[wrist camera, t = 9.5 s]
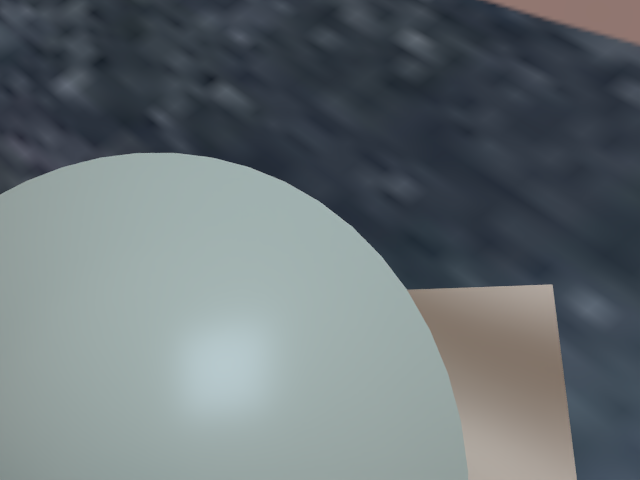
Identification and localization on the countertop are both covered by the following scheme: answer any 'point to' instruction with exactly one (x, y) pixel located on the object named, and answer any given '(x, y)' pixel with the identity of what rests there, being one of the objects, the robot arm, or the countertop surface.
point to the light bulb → (208, 334)
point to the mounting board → (504, 378)
